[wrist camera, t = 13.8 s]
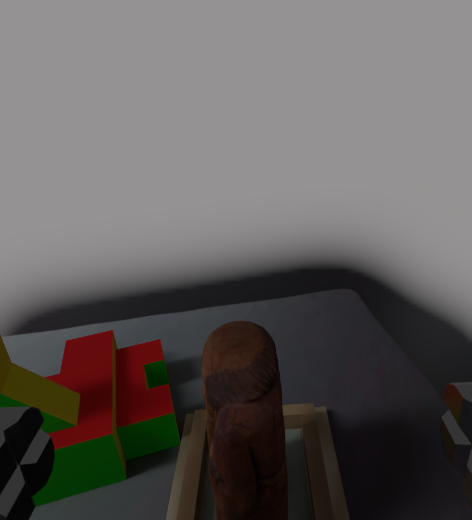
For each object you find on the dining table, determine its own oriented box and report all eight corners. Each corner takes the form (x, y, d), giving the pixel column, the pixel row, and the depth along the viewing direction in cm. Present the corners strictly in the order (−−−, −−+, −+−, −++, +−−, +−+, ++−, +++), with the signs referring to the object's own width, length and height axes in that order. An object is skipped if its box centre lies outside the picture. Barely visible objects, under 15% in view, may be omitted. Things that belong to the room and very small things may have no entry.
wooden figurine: (221, 451, 43) (196, 299, 36) (283, 447, 43) (271, 293, 35) (215, 578, 32) (177, 399, 25) (298, 574, 32) (285, 391, 25)
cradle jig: (142, 661, 29) (133, 640, 28) (187, 418, 49) (183, 400, 48) (378, 660, 28) (379, 637, 27) (325, 411, 48) (325, 392, 47)
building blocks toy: (184, 464, 44) (151, 314, 36) (-81, 544, 39) (-184, 390, 31) (164, 358, 60) (139, 241, 53) (-23, 405, 56) (-80, 283, 48)
